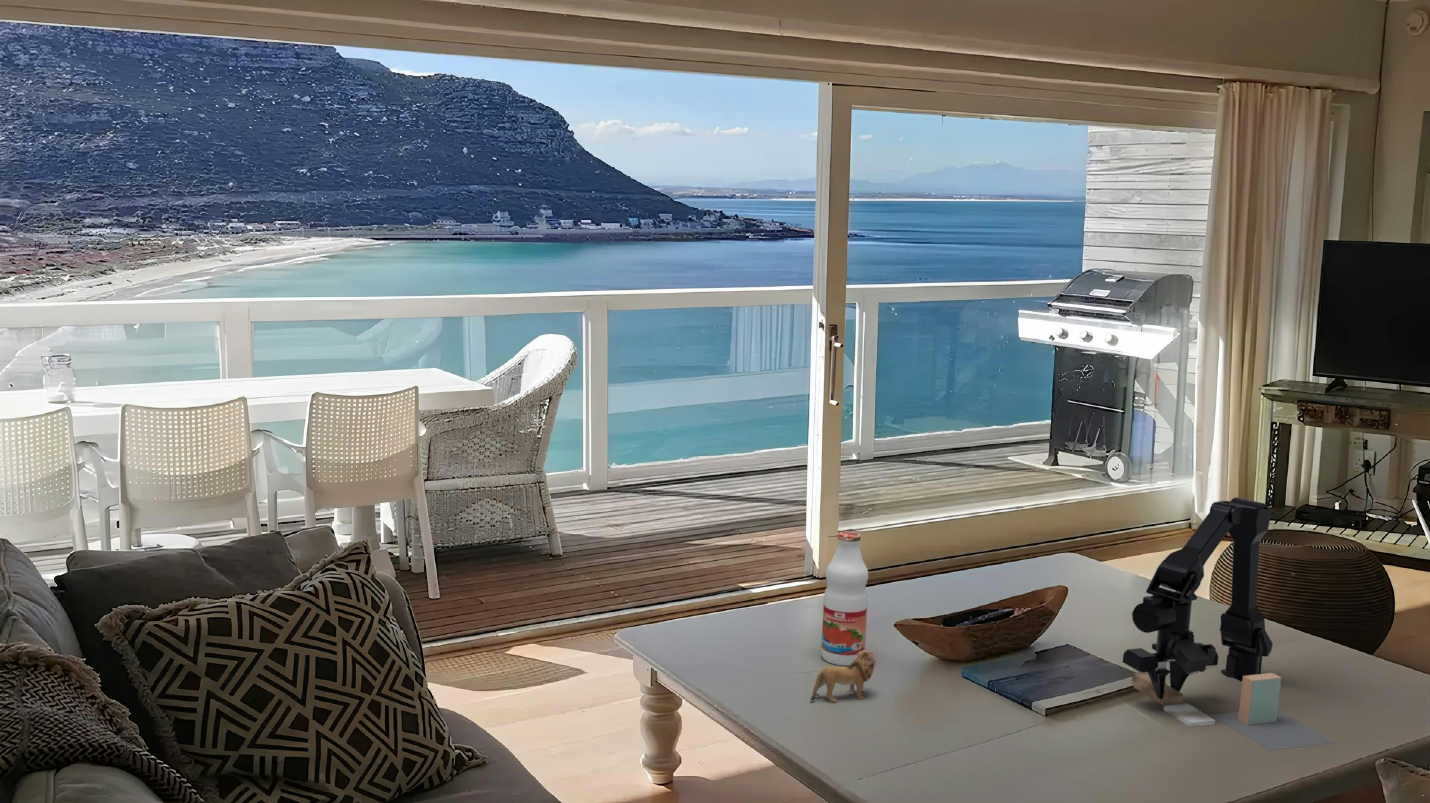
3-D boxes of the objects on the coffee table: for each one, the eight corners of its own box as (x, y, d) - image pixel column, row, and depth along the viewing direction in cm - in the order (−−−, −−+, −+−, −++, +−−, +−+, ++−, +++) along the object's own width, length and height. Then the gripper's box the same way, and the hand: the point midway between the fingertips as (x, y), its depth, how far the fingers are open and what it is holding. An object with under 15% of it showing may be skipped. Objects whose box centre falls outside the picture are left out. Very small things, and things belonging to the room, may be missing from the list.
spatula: (1126, 686, 240) (1127, 673, 239) (1149, 684, 241) (1150, 671, 241) (1190, 727, 221) (1191, 712, 220) (1214, 724, 222) (1216, 710, 222)
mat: (1270, 710, 231) (1271, 707, 231) (1335, 744, 216) (1335, 742, 216) (1209, 717, 227) (1209, 714, 227) (1270, 753, 212) (1270, 750, 211)
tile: (1267, 716, 227) (1272, 672, 225) (1276, 721, 224) (1281, 677, 223) (1238, 719, 225) (1242, 675, 223) (1247, 725, 222) (1252, 680, 221)
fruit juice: (870, 655, 253) (877, 532, 249) (855, 669, 245) (862, 541, 241) (830, 647, 258) (836, 525, 253) (814, 660, 249) (820, 535, 245)
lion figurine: (864, 686, 236) (867, 644, 235) (879, 696, 232) (882, 653, 230) (803, 698, 230) (805, 654, 228) (817, 708, 225) (819, 664, 223)
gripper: (1161, 640, 219) (1154, 718, 221) (1241, 633, 224) (1233, 709, 227) (1124, 621, 229) (1117, 695, 232) (1202, 614, 235) (1194, 687, 237)
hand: (1166, 697), depth 232 cm, fingers closed on spatula, 3 cm apart
